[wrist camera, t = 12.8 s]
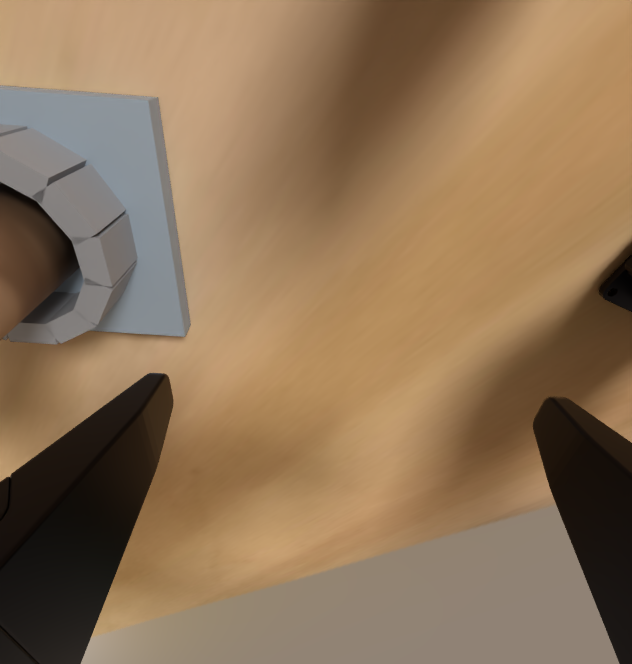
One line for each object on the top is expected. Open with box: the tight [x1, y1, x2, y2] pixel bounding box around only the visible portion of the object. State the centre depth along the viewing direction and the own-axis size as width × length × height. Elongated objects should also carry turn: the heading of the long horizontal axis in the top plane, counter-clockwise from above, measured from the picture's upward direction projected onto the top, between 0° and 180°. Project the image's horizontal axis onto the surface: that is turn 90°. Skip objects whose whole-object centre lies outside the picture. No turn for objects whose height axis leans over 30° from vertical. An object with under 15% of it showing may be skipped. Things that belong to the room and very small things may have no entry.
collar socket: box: [0, 86, 191, 344], centre depth 19 cm, size 13×12×4 cm
